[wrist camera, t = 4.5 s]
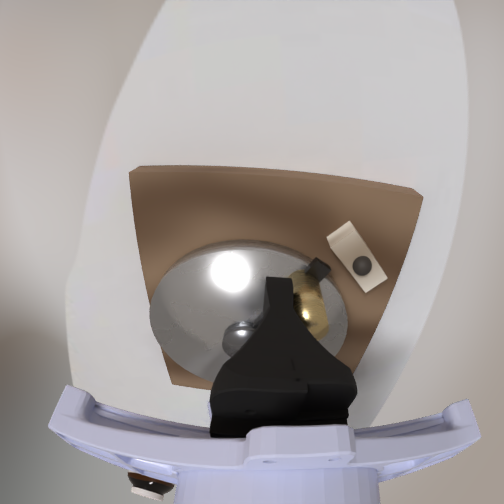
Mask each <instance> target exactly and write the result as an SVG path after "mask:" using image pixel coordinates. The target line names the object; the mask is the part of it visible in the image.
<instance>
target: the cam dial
mask: <svg viewBox="0 0 504 504" xmlns="http://www.w3.org/2000/svg"><path fill="white" fill-rule="evenodd" d="M330 271H331V268H330V266H329V265H328V264H326V263H325V262H323V261H322V260H320V259H319V258H317V257H315V258H314V259H311V258H310V257H308V256H306V255H304V254H303V253H301V252H299V251H296V250H294V249H292V248H289V247H287V246H283V245H280V244H276V243H272V242H267V241H260V240H244V239H238V240H227V241H221V242H216V243H211V244H208V245H205V246H202V247H200V248H197V249H195V250H193V251H191V252H189V253H187V254H185V255H184V256H182V257H181V258H180V259H178V260H177V261H176V262H174V264H173V265H172V266H171V267H170V268H169V269H168V270H167V271H166V273H165V274H164V275H163V277H162V278H161V280H160V282H159V284H158V286H157V288H156V290H155V292H154V294H153V297H152V299H151V304H150V323H151V327H152V330H153V333H154V336H155V337H156V339H157V341H158V343H159V344H160V346H161V347H162V349H163V350H164V351H165V352H166V353H167V355H168V356H169V357H170V358H171V359H173V360H174V361H175V362H176V363H177V364H179V365H180V366H181V367H183V368H184V369H186V370H187V371H189V372H191V373H192V374H194V375H196V376H198V377H201V378H203V379H205V380H208V381H211V382H214V380H215V378H216V376H217V374H218V372H219V370H220V369H221V367H222V365H223V364H224V363H225V362H226V361H227V360H228V359H230V358H231V357H232V356H233V355H234V354H235V353H236V352H237V351H238V350H239V349H240V348H241V347H242V346H243V345H244V343H245V342H246V341H247V340H248V339H249V338H250V336H251V335H252V334H253V332H254V331H255V330H256V328H257V327H258V325H259V323H260V322H261V320H262V317H263V303H264V292H265V282H266V276H268V277H283V278H291V279H292V282H293V308H294V310H295V311H296V313H297V315H298V316H299V318H300V319H301V321H302V322H303V323H304V325H305V326H306V328H307V329H308V330H309V331H310V333H311V334H312V335H313V336H314V337H315V338H316V340H317V341H318V342H319V343H320V344H321V345H322V346H323V347H324V348H325V349H326V350H327V351H328V352H330V353H331V354H332V355H333V356H334V357H335V356H336V354H337V353H338V352H339V350H340V348H341V347H342V345H343V343H344V340H345V337H346V334H347V327H348V320H347V313H346V309H345V305H344V302H343V298H342V295H341V293H340V290H339V288H338V286H337V284H336V283H335V281H334V280H333V278H332V277H331V275H330V274H329V272H330Z"/></svg>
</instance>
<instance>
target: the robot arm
mask: <svg viewBox="0 0 504 504" xmlns="http://www.w3.org/2000/svg"><path fill="white" fill-rule="evenodd" d="M356 395H357V386H356V382H355V379H354V376H353V374H352V371H351V369H350V368H349V367H348V366H346V365H345V364H344V363H342V362H341V361H340V360H338V359H337V358H336V357H334V356H333V355H332V354H331V353H330V352H328V351H327V350H326V349H325V348H324V347H323V346H322V345H321V344H320V343H319V342H318V341H317V340H316V338H315V337H314V336H313V335H312V334H311V333H310V331H309V330H308V329H307V328H306V326H305V325H304V323H303V322H302V321H301V319H300V318H299V316H298V315H297V313H296V311H295V310H294V308H293V282H292V279H291V278H283V277H268V276H266V282H265V292H264V303H263V317H262V320H261V322H260V323H259V325H258V327H257V328H256V330H255V331H254V332H253V334H252V335H251V336H250V338H249V339H248V340H247V341H246V342H245V343H244V345H243V346H242V347H241V348H240V349H239V350H238V351H237V352H236V353H235V354H234V355H233V356H232V357H231V358H230V359H228V360H227V361H226V362H225V363H224V364H223V365H222V367H221V369H220V370H219V372H218V374H217V376H216V378H215V380H214V383H213V385H212V388H211V394H210V402H208V410H209V415H210V420H211V424H210V428H207V427H200V426H194V425H188V424H182V423H176V422H171V421H166V420H161V419H157V418H152V417H148V416H144V415H140V414H136V413H132V412H129V411H125V410H121V409H118V408H115V407H111V406H108V405H105V404H102V403H99V402H96V401H95V399H94V397H93V396H92V395H91V394H90V393H88V392H86V391H84V390H81V389H79V388H76V387H73V386H71V385H66V387H65V389H64V391H63V393H62V395H61V397H60V399H59V402H58V404H57V406H56V408H55V410H54V413H53V415H52V417H51V419H50V422H49V424H48V427H49V428H50V429H51V430H52V431H53V432H55V433H56V434H57V435H58V436H60V437H61V438H62V439H63V440H65V441H66V442H67V443H68V444H70V445H71V446H73V447H74V448H76V449H78V450H81V451H83V452H85V453H87V454H90V455H92V456H94V457H97V458H99V459H102V460H104V461H106V462H109V463H112V464H114V465H116V466H119V467H122V468H124V469H127V470H130V471H133V472H136V473H139V474H142V475H145V476H148V477H151V478H154V479H158V480H161V481H165V482H169V483H173V484H177V487H176V493H175V499H174V504H380V496H379V486H378V483H379V482H383V481H386V480H390V479H393V478H397V477H400V476H403V475H406V474H409V473H412V472H415V471H418V470H421V469H423V468H426V467H429V466H431V465H434V464H437V463H439V462H442V461H444V460H447V459H449V458H452V457H454V456H455V455H457V454H458V453H460V452H461V451H463V450H464V449H466V448H467V447H469V446H470V445H472V444H473V443H475V442H476V441H477V440H479V439H480V438H481V434H480V431H479V428H478V425H477V422H476V419H475V416H474V413H473V410H472V408H471V405H470V402H469V400H468V399H465V400H462V401H458V402H455V403H452V404H451V405H449V406H448V407H446V408H445V409H444V410H443V412H442V413H438V414H434V415H430V416H427V417H422V418H418V419H414V420H409V421H405V422H399V423H395V424H389V425H383V426H377V427H369V428H362V429H353V428H351V427H349V426H348V425H347V418H348V417H349V414H348V407H349V406H350V405H351V403H352V402H353V400H354V399H355V397H356Z"/></svg>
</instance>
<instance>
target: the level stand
mask: <svg viewBox="0 0 504 504" xmlns="http://www.w3.org/2000/svg"><path fill="white" fill-rule="evenodd" d="M129 180H130V190H131V199H132V207H133V215H134V222H135V229H136V236H137V242H138V248H139V254H140V260H141V265H142V270H143V275H144V280H145V285H146V290H147V294H148V299H149V303H150V304H151V299H152V297H153V294H154V292H155V290H156V288H157V286H158V284H159V282H160V280H161V278H162V277H163V275H164V274H165V273H166V271H167V270H168V269H169V268H170V267H171V266H172V265H173V264H174V262H176V261H177V260H178V259H180V258H181V257H182V256H184V255H185V254H187V253H189V252H191V251H193V250H195V249H197V248H200V247H202V246H205V245H208V244H211V243H216V242H221V241H227V240H238V239H244V240H260V241H267V242H272V243H276V244H280V245H283V246H287V247H289V248H292V249H294V250H296V251H299V252H301V253H303V254H304V255H306V256H308V257H310V258H311V259H314V258H315V257H317V258H319V259H320V260H322V261H323V262H325V263H326V264H328V265H329V266H330V268H331V271H330V272H329V274H330V275H331V277H332V278H333V280H334V281H335V283H336V284H337V286H338V288H339V290H340V293H341V295H342V298H343V302H344V305H345V309H346V313H347V320H348V327H347V334H346V337H345V340H344V343H343V345H342V347H341V348H340V350H339V352H338V353H337V354H336V356H335V357H336V358H337V359H338V360H340V361H341V362H342V363H344V364H345V365H346V366H348V367H349V368H350V369H351V371H352V374H353V373H354V371H355V369H356V367H357V365H358V364H359V362H360V360H361V358H362V356H363V354H364V352H365V350H366V348H367V346H368V344H369V342H370V340H371V338H372V336H373V334H374V332H375V330H376V328H377V326H378V324H379V321H380V319H381V317H382V315H383V313H384V310H385V308H386V306H387V303H388V301H389V299H390V296H391V294H392V291H393V289H394V286H395V284H396V281H397V279H398V276H399V273H400V271H401V268H402V265H403V263H404V260H405V257H406V254H407V251H408V248H409V245H410V242H411V239H412V236H413V233H414V229H415V226H416V223H417V219H418V216H419V212H420V208H421V205H422V201H423V196H422V195H420V194H419V193H418V192H416V191H415V190H414V189H412V188H407V187H402V186H397V185H391V184H386V183H380V182H374V181H368V180H361V179H355V178H348V177H341V176H333V175H325V174H317V173H308V172H298V171H288V170H276V169H263V168H247V167H227V166H189V165H165V166H139V167H137V168H136V169H134V170H132V171H131V172H129ZM161 350H162V353H163V356H164V360H165V363H166V366H167V370H168V373H169V376H170V379H171V382H172V384H174V385H179V386H185V387H192V388H199V389H206V390H211V388H212V385H213V383H214V382H211V381H208V380H205V379H203V378H201V377H198V376H196V375H194V374H192V373H191V372H189V371H187V370H186V369H184V368H183V367H181V366H180V365H179V364H177V363H176V362H175V361H174V360H173V359H171V358H170V357H169V356H168V355H167V353H166V352H165V351H164V350H163V349H162V347H161Z"/></svg>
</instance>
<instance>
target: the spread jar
mask: <svg viewBox="0 0 504 504" xmlns="http://www.w3.org/2000/svg"><path fill="white" fill-rule="evenodd" d="M128 477H129V480H130V481H131V483H132V484H133V487H132V489H131V492H133V493H136V494H138V495H141V496H144V497H147V498H151V499H155V500H159V501H163V497H164V496H163V494H165V493H168V492H169V491H171V490H172V489H173V487H174V485H175V484H173V483H169V482H165V481H161V480H158V479H154V478H151V477H148V476H145V475H142V474H139V473H136V472H133V471H130V470H128Z"/></svg>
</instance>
